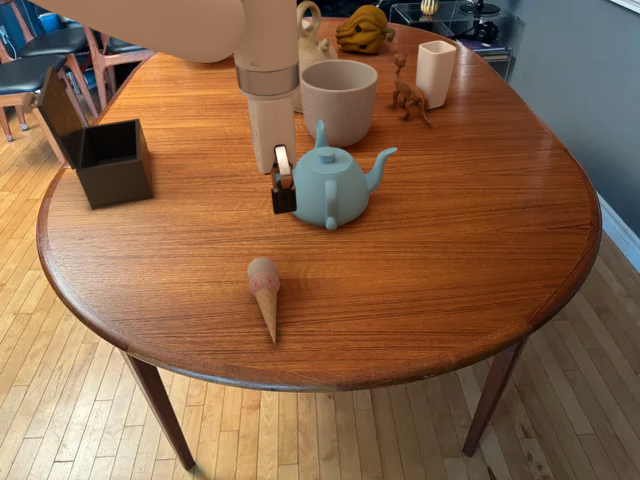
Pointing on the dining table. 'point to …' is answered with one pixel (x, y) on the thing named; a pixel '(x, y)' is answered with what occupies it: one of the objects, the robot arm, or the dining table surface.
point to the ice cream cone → (265, 289)
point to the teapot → (333, 183)
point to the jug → (310, 45)
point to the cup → (435, 71)
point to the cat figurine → (408, 91)
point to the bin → (114, 164)
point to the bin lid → (57, 115)
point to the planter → (339, 99)
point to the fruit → (364, 31)
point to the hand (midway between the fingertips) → (279, 191)
